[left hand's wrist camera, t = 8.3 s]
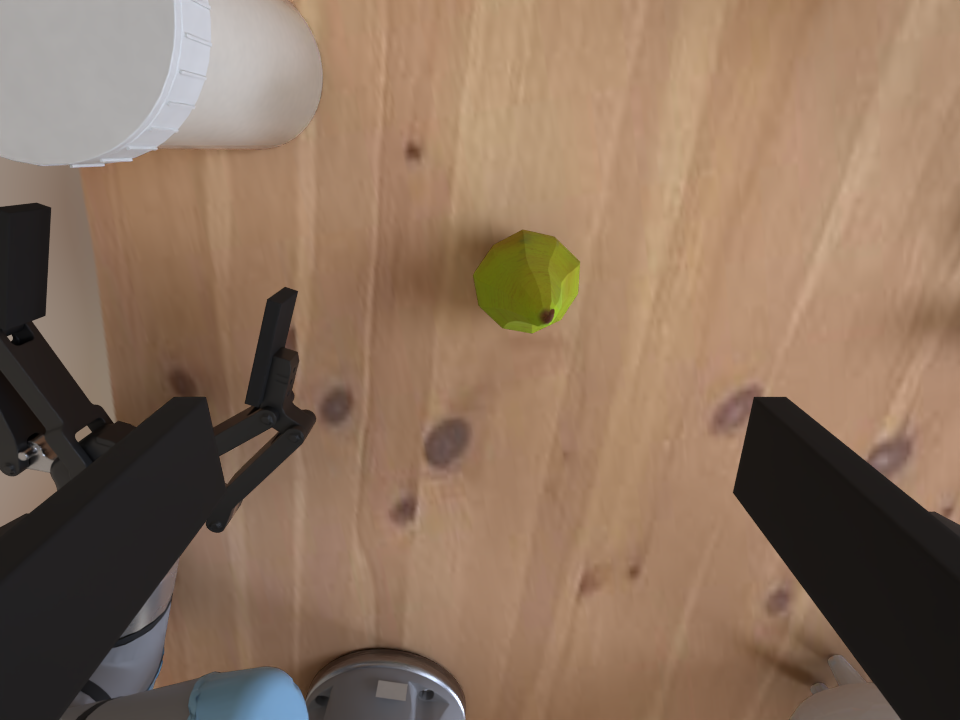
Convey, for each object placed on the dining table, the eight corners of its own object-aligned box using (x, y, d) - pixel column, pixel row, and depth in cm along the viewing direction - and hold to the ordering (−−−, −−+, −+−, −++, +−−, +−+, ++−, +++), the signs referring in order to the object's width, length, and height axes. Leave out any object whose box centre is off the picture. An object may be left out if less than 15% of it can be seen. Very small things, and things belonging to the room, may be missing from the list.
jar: (340, 16, 29) (188, -130, 14) (303, 171, 32) (145, 190, 17) (182, -52, 28) (-171, -292, 13) (159, 116, 31) (-147, 83, 16)
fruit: (483, 323, 36) (485, 400, 25) (468, 232, 34) (462, 273, 22) (575, 309, 35) (620, 381, 24) (567, 216, 33) (611, 249, 22)
